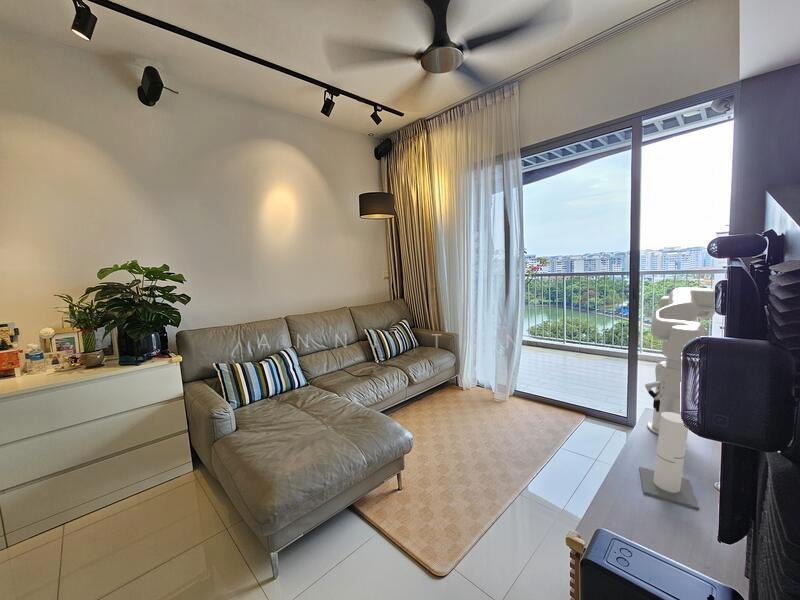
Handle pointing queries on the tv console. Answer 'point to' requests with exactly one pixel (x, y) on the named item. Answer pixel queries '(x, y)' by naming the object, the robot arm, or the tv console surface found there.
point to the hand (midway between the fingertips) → (675, 413)
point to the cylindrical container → (670, 452)
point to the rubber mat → (681, 497)
